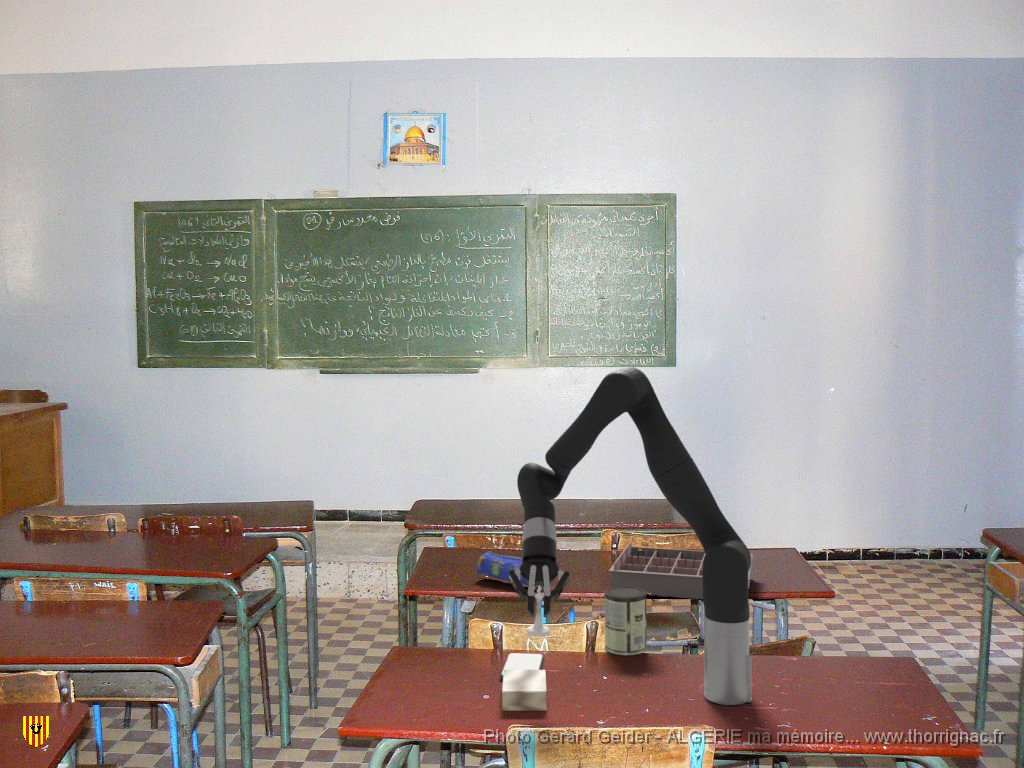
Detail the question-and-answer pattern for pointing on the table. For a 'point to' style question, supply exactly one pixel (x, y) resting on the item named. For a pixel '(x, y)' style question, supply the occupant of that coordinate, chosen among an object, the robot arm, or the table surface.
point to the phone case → (522, 662)
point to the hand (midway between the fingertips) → (538, 615)
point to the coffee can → (625, 620)
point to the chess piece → (538, 618)
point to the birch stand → (524, 690)
